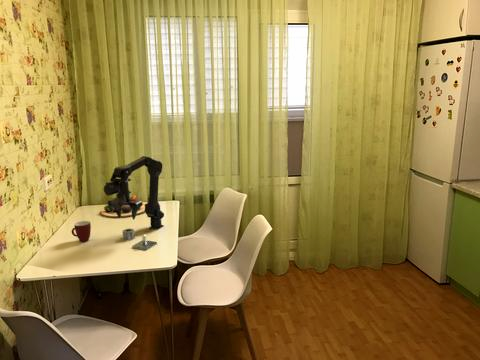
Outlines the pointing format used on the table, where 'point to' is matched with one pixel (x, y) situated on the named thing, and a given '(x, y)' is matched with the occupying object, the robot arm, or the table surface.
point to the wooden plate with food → (122, 210)
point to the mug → (82, 230)
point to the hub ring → (128, 234)
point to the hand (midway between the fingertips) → (126, 218)
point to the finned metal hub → (144, 244)
